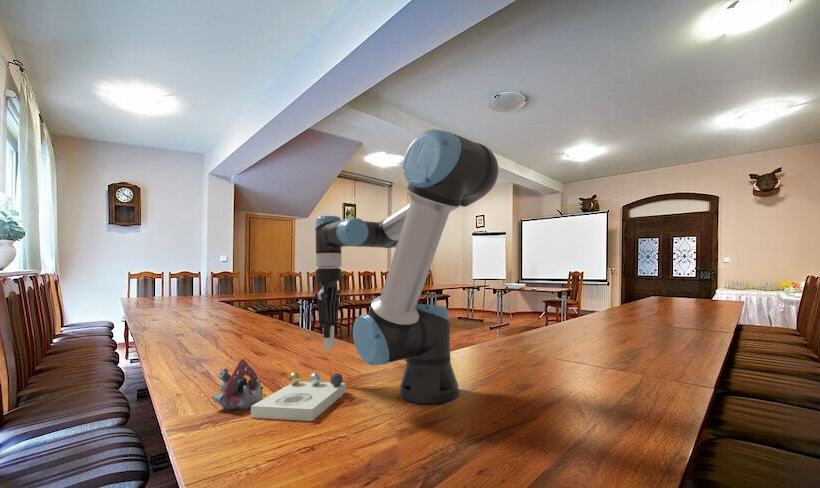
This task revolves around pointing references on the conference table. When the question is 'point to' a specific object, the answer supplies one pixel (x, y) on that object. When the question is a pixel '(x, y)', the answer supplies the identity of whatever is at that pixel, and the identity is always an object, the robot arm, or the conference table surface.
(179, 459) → the conference table surface
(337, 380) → the dark grey ball
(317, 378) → the steel ball
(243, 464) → the conference table surface
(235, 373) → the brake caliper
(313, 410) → the board
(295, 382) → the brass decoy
